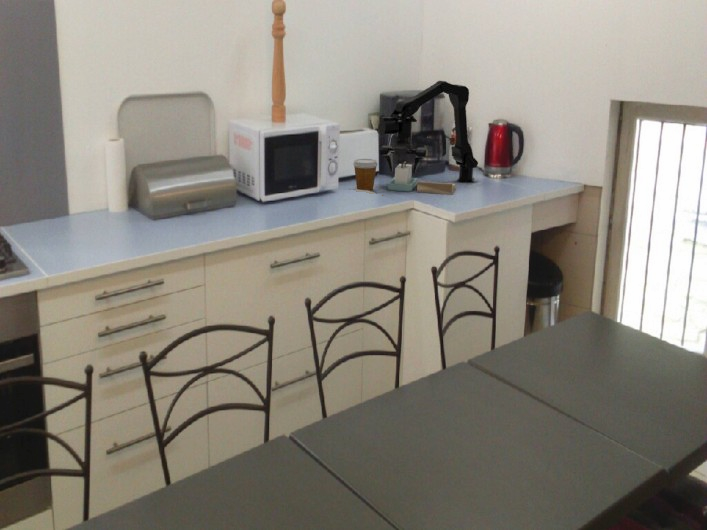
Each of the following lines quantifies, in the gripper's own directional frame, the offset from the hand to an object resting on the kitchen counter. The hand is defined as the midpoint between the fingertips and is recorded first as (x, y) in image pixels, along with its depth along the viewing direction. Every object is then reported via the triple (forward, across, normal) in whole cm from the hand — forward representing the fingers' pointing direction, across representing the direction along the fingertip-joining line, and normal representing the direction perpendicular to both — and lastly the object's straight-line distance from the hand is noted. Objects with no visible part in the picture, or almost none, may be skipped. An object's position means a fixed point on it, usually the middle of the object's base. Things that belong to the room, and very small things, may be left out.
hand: (403, 172), depth 305 cm
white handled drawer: (+6, 0, 0) cm, 6 cm away
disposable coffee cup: (+6, -13, -11) cm, 18 cm away
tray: (+6, 0, 0) cm, 6 cm away
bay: (+6, +14, -1) cm, 15 cm away
